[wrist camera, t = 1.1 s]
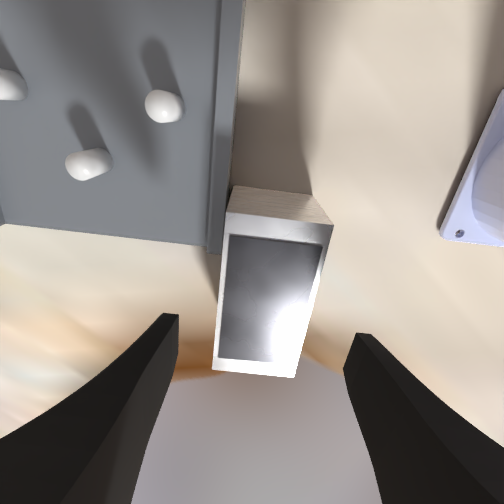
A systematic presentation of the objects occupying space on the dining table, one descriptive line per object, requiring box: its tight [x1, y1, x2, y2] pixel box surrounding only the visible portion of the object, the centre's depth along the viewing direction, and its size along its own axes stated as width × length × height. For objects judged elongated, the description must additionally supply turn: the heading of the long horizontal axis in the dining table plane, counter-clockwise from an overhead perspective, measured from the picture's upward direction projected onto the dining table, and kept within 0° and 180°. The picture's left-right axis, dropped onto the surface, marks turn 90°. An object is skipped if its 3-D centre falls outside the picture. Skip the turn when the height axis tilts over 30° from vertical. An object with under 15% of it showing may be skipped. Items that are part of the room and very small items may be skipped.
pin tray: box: [0, 0, 246, 255], centre depth 11 cm, size 13×20×3 cm, turn 173°
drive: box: [212, 185, 334, 377], centre depth 16 cm, size 4×9×5 cm, turn 173°
